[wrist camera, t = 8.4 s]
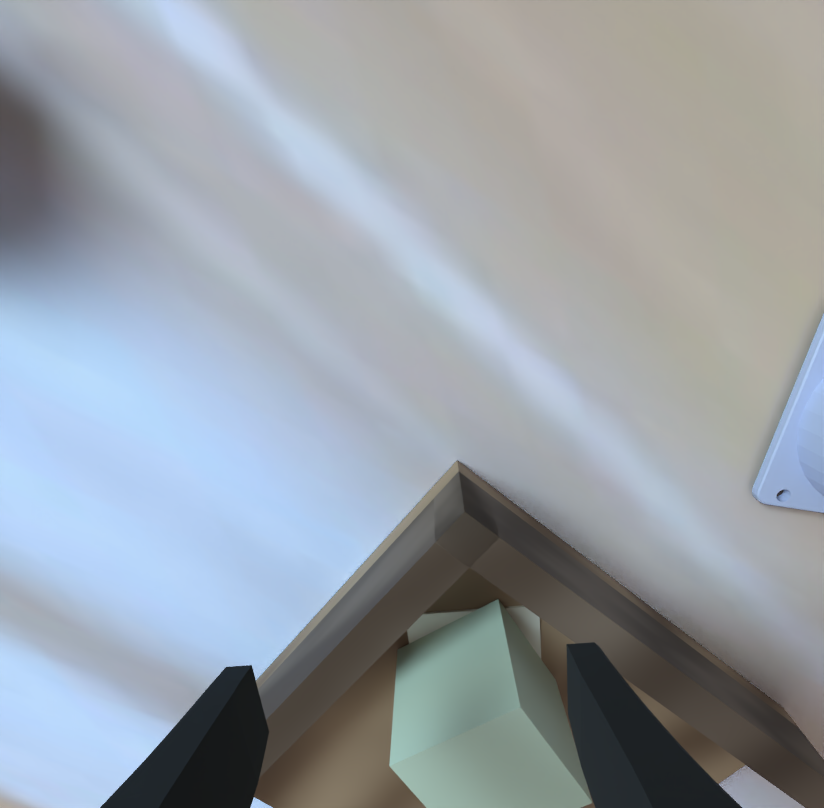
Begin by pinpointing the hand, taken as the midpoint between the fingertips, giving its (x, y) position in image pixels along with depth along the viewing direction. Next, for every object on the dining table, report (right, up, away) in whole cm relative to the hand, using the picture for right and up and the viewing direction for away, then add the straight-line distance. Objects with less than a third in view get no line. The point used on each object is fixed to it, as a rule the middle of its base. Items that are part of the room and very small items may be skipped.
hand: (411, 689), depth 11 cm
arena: (+3, -9, +13) cm, 16 cm away
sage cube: (+3, -5, +10) cm, 12 cm away
